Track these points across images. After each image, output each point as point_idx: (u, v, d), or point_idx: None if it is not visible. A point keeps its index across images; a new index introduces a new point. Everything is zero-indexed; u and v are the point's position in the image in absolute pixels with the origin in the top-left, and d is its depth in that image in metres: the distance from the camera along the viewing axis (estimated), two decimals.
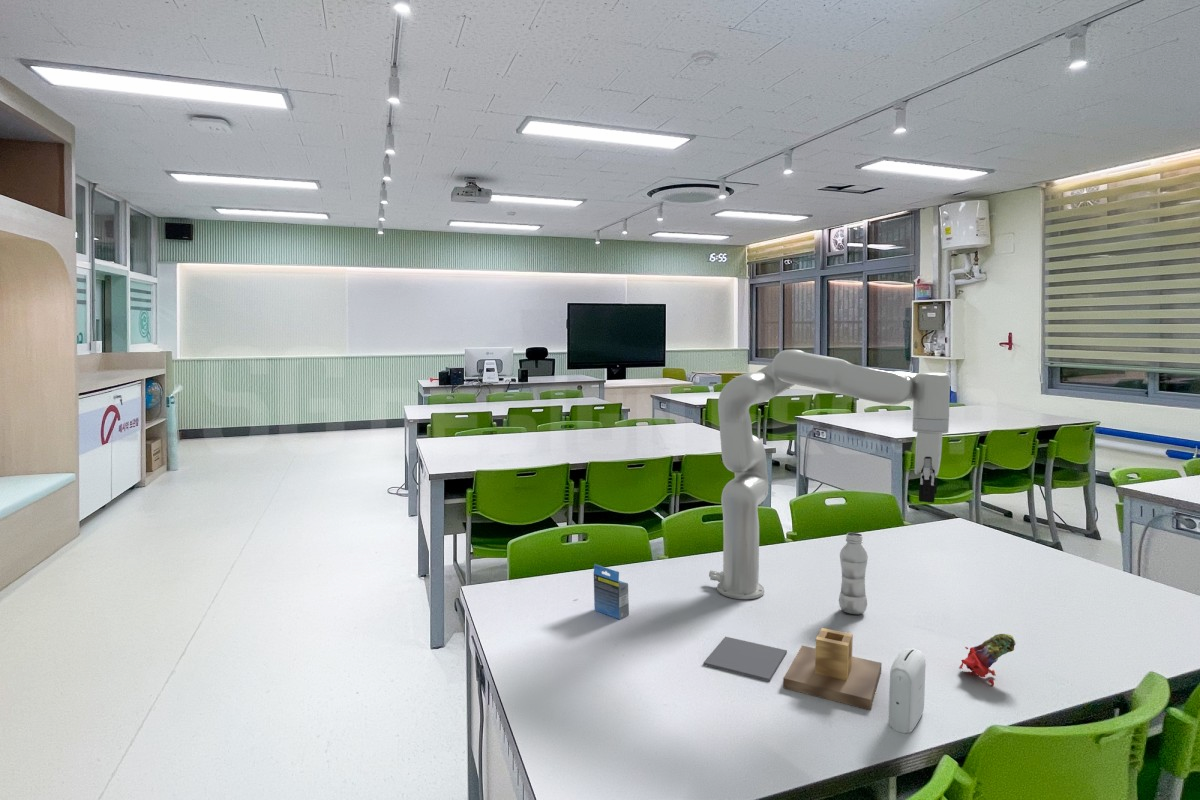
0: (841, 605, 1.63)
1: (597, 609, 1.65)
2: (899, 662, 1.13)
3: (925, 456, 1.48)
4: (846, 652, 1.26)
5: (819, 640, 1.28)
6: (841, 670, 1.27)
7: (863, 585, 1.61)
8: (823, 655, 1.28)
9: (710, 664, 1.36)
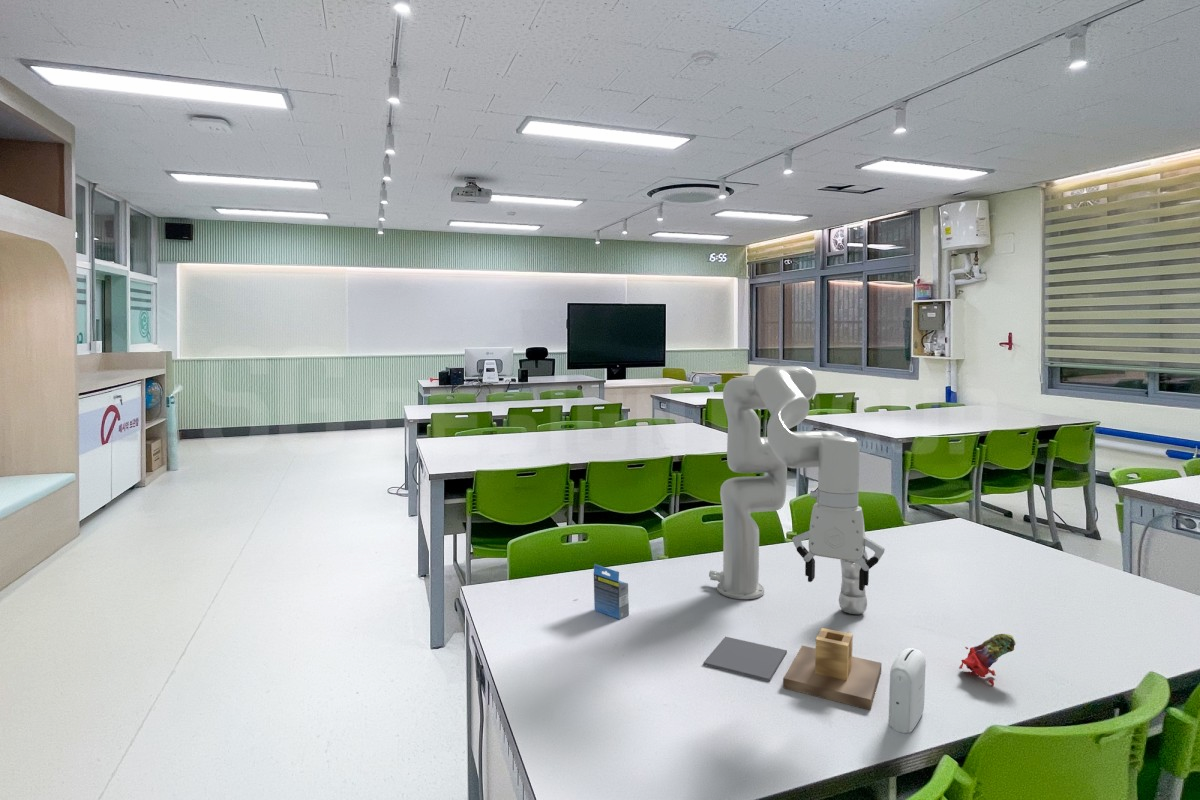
0: (841, 605, 1.63)
1: (597, 609, 1.65)
2: (900, 662, 1.13)
3: (864, 536, 1.25)
4: (846, 652, 1.26)
5: (819, 640, 1.28)
6: (841, 670, 1.27)
7: None
8: (823, 655, 1.28)
9: (710, 664, 1.36)
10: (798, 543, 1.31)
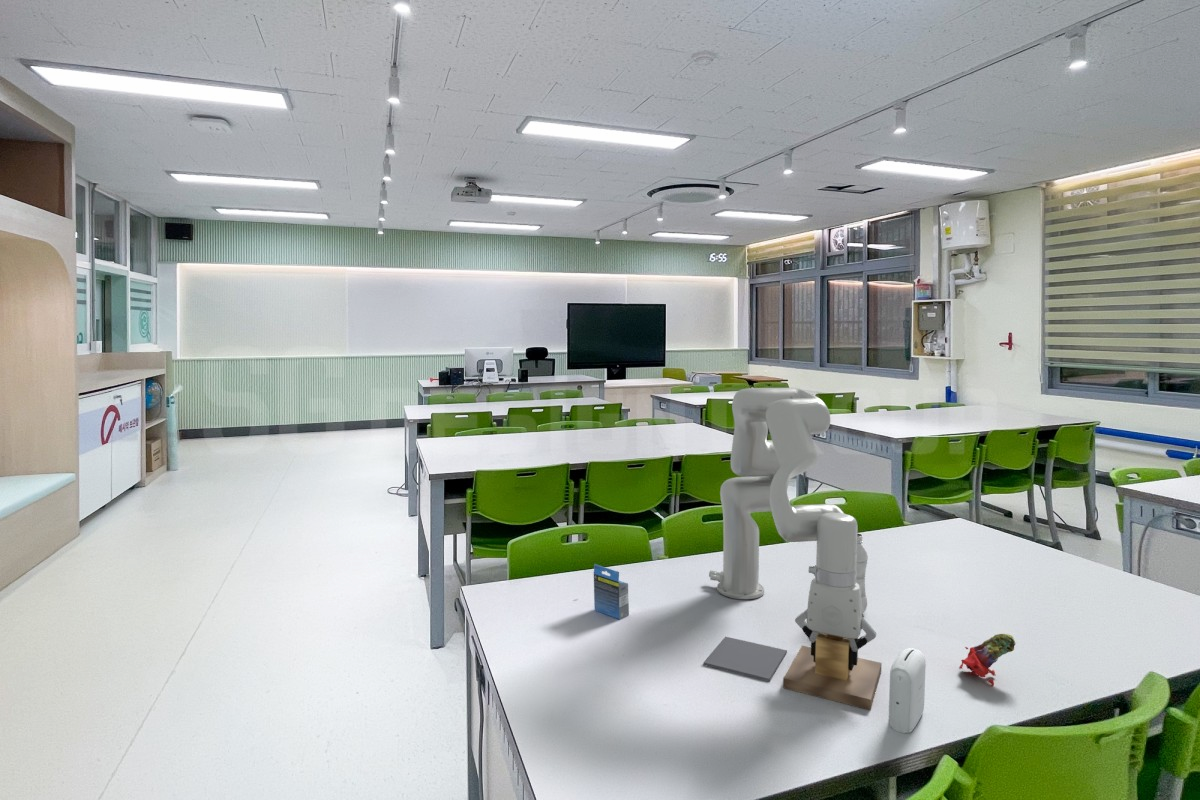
0: None
1: (597, 609, 1.65)
2: (900, 662, 1.13)
3: None
4: (846, 652, 1.26)
5: (819, 640, 1.28)
6: (841, 670, 1.27)
7: (863, 585, 1.61)
8: (823, 655, 1.28)
9: (710, 664, 1.36)
10: (802, 623, 1.32)
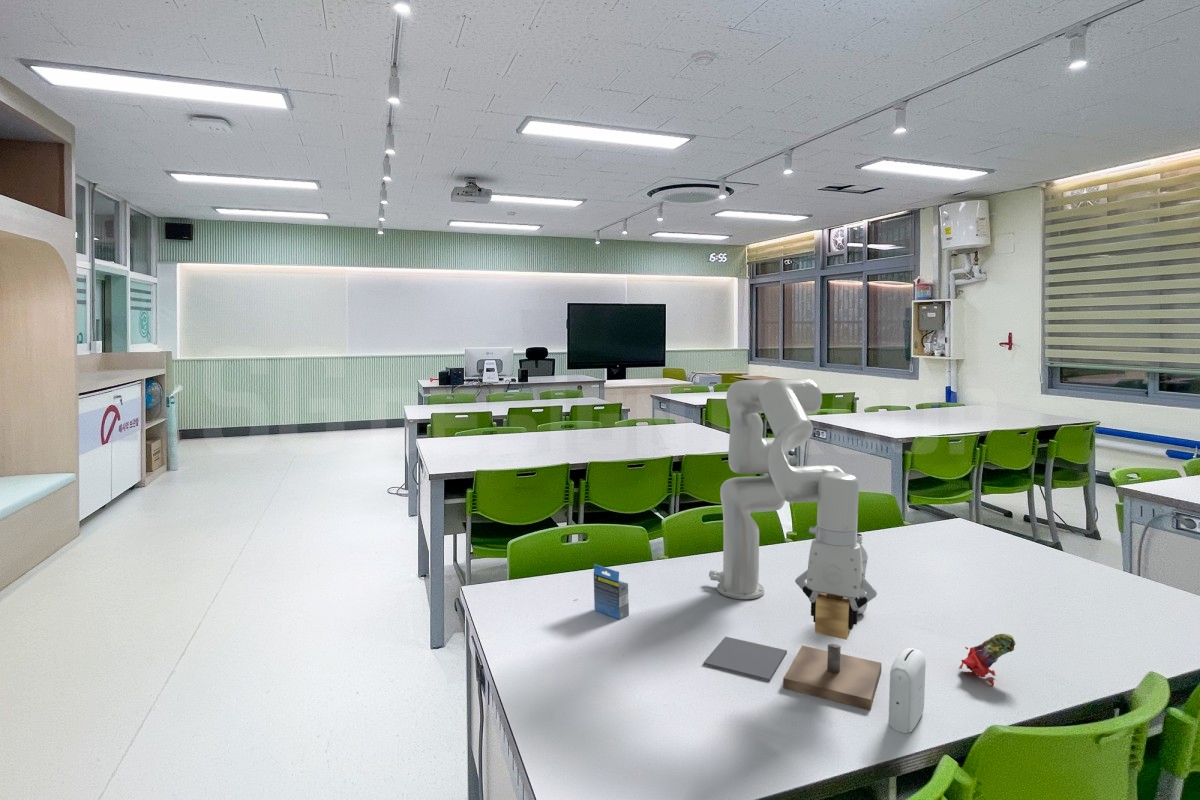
0: None
1: (597, 609, 1.65)
2: (900, 662, 1.13)
3: None
4: (846, 611, 1.25)
5: (819, 600, 1.28)
6: (841, 629, 1.26)
7: None
8: (823, 615, 1.28)
9: (710, 664, 1.36)
10: (802, 583, 1.32)
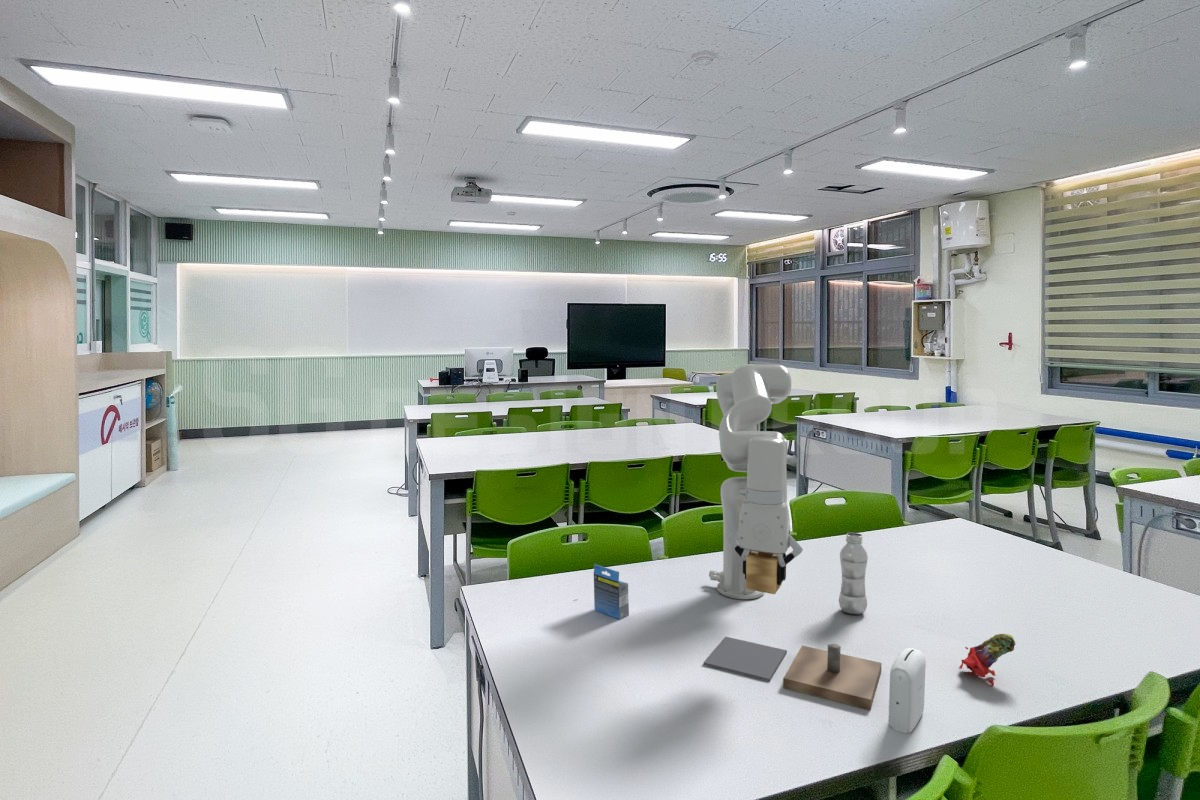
0: (841, 605, 1.63)
1: (597, 609, 1.65)
2: (900, 662, 1.13)
3: (788, 533, 1.32)
4: (774, 567, 1.32)
5: (749, 557, 1.34)
6: (769, 584, 1.33)
7: (863, 585, 1.61)
8: (753, 571, 1.34)
9: (710, 664, 1.36)
10: (734, 543, 1.38)
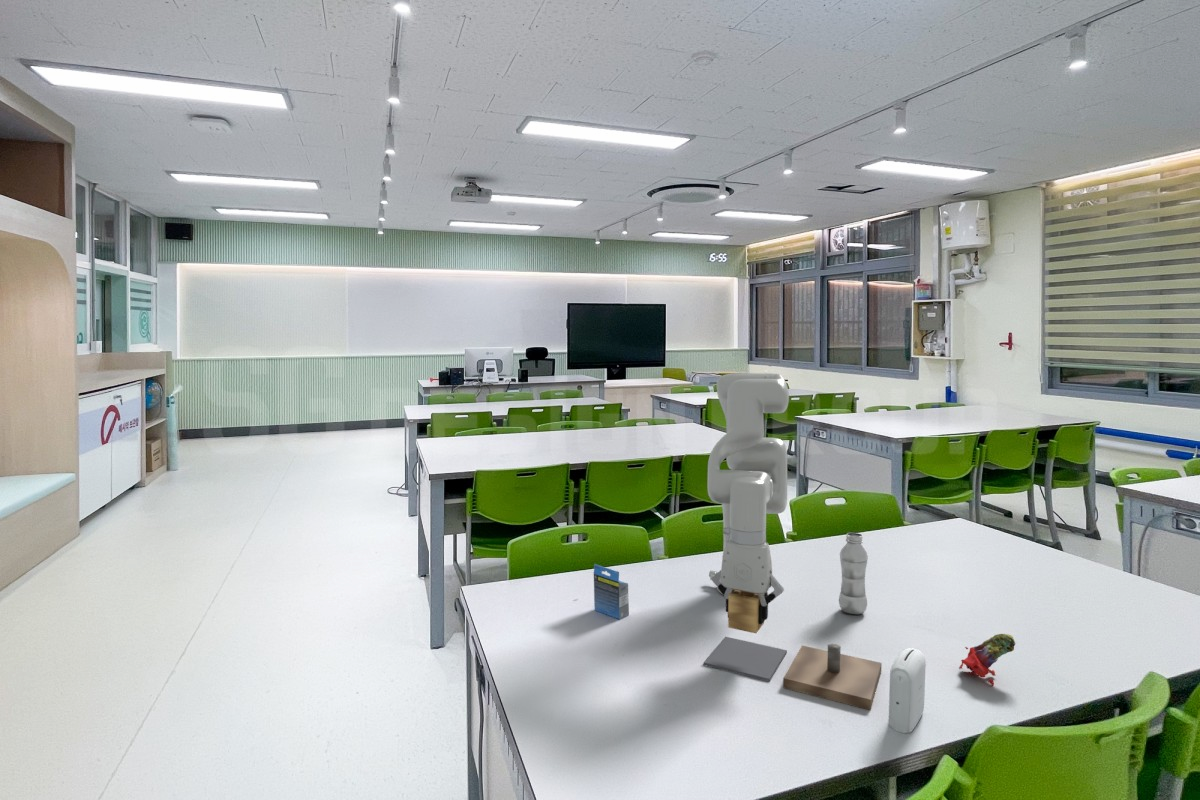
0: (841, 605, 1.63)
1: (597, 609, 1.65)
2: (900, 662, 1.13)
3: (769, 573, 1.35)
4: (755, 606, 1.34)
5: (731, 596, 1.37)
6: (751, 624, 1.35)
7: (863, 585, 1.61)
8: (735, 610, 1.36)
9: (710, 664, 1.36)
10: (718, 581, 1.40)
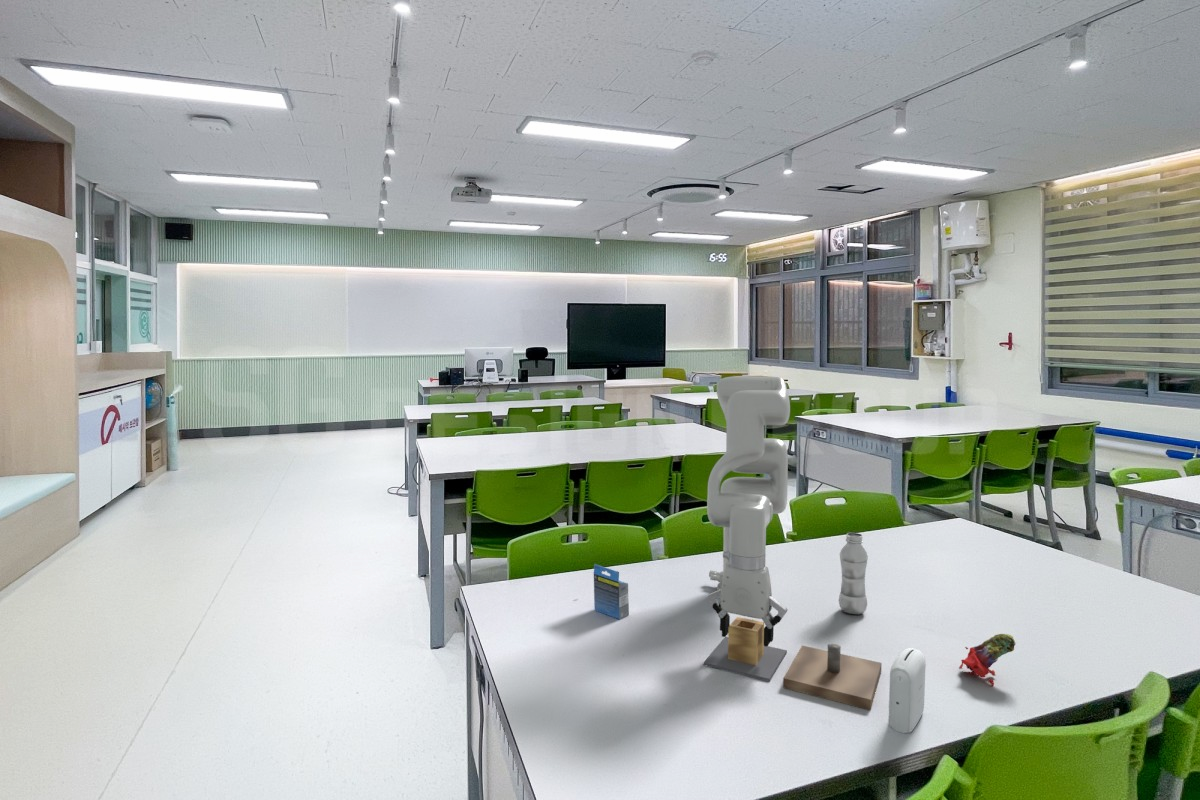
0: (841, 605, 1.63)
1: (597, 609, 1.65)
2: (899, 662, 1.13)
3: (769, 596, 1.35)
4: (755, 639, 1.35)
5: (731, 628, 1.37)
6: (751, 655, 1.36)
7: (863, 585, 1.61)
8: (735, 642, 1.37)
9: (710, 664, 1.36)
10: (713, 600, 1.41)
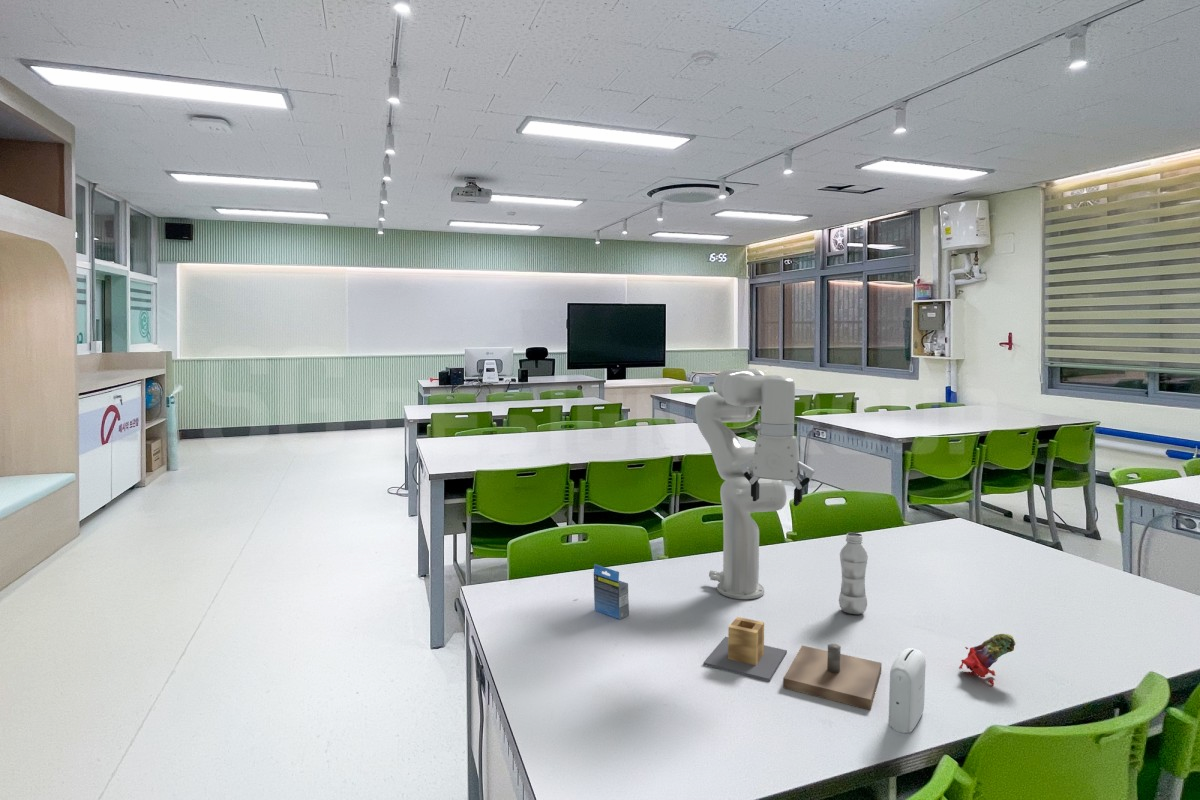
0: (841, 605, 1.63)
1: (597, 609, 1.65)
2: (900, 662, 1.13)
3: (798, 460, 1.49)
4: (755, 639, 1.35)
5: (731, 628, 1.37)
6: (751, 655, 1.36)
7: (863, 585, 1.61)
8: (735, 642, 1.37)
9: (710, 664, 1.36)
10: (745, 469, 1.55)
